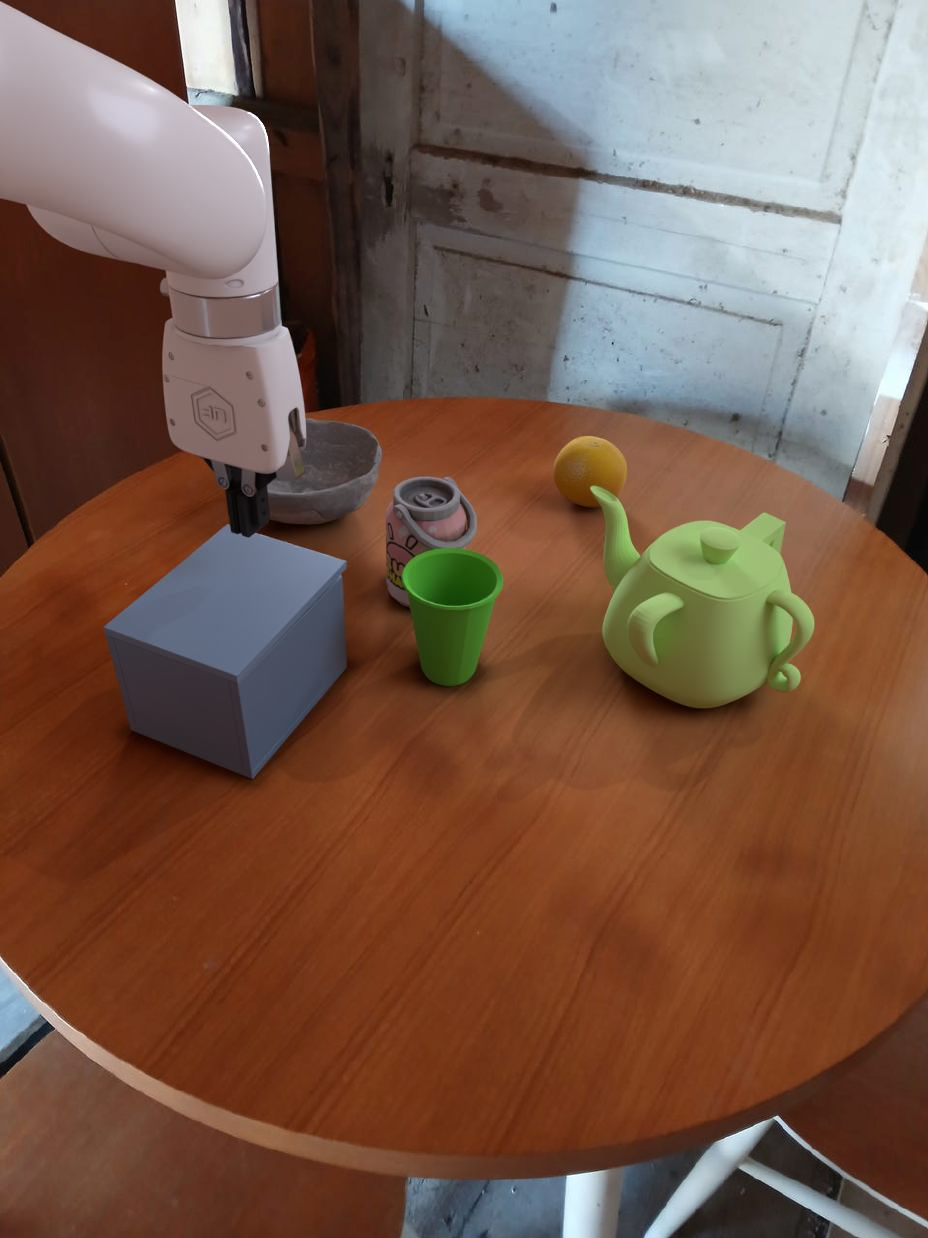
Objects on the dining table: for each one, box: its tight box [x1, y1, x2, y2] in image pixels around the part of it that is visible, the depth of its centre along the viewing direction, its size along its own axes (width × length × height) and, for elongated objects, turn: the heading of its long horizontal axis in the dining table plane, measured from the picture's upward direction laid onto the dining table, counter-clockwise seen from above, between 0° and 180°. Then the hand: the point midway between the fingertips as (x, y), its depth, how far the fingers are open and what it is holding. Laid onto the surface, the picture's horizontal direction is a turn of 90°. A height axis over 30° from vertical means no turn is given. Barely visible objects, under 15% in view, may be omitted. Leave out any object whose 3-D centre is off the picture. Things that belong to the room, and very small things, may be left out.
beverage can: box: [385, 476, 478, 609], centre depth 92 cm, size 9×8×12 cm
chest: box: [105, 575, 348, 780], centre depth 79 cm, size 16×13×11 cm
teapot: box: [590, 486, 815, 709], centre depth 85 cm, size 19×20×14 cm
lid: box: [103, 524, 348, 683], centre depth 76 cm, size 16×13×1 cm
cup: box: [401, 548, 505, 687], centre depth 83 cm, size 9×9×11 cm
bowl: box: [267, 418, 383, 526], centre depth 105 cm, size 18×18×8 cm
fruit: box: [552, 435, 628, 508], centre depth 109 cm, size 9×8×8 cm
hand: (250, 527), depth 75 cm, fingers closed
